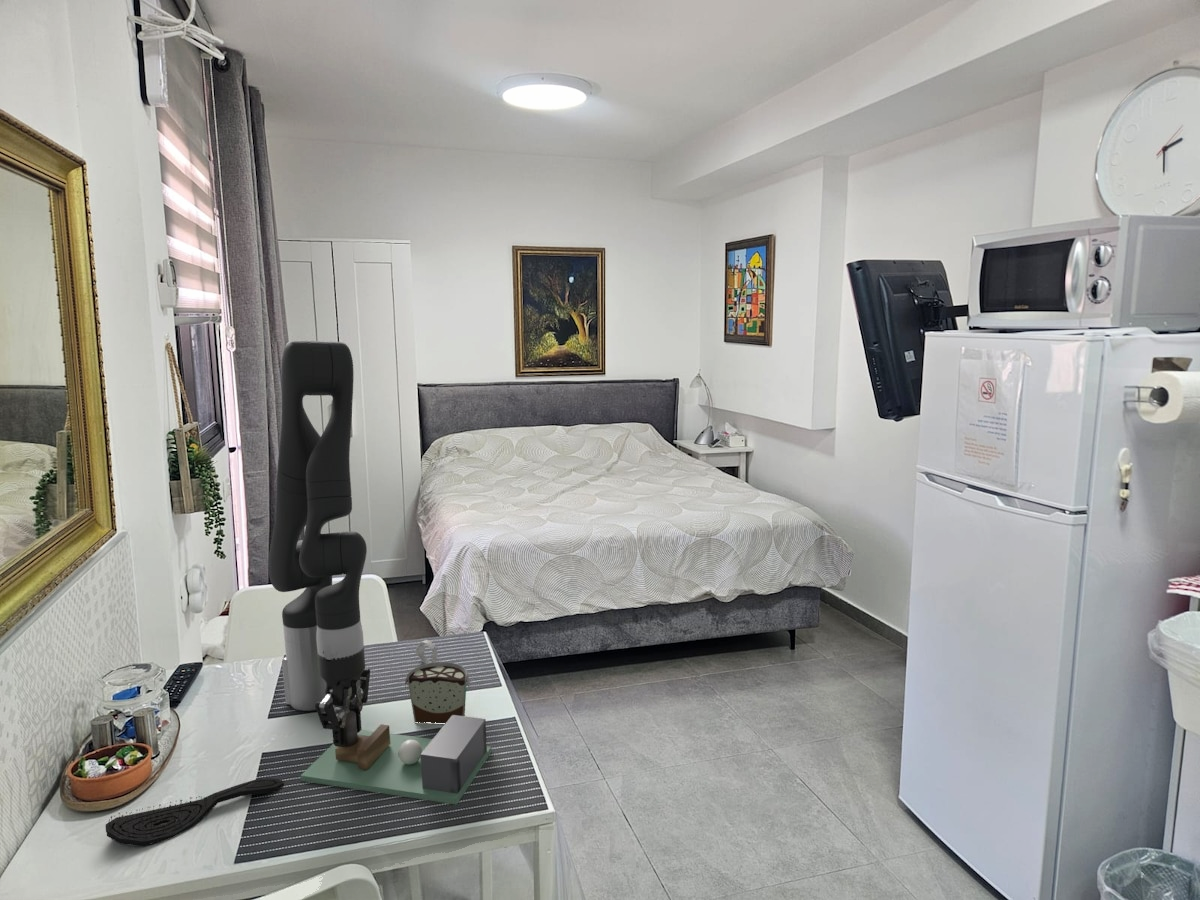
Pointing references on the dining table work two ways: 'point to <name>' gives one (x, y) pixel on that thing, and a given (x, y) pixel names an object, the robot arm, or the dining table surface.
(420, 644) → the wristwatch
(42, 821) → the dining table surface
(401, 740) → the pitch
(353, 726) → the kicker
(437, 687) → the food container
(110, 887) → the dining table surface
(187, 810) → the hairbrush
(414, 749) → the ball
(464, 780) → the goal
